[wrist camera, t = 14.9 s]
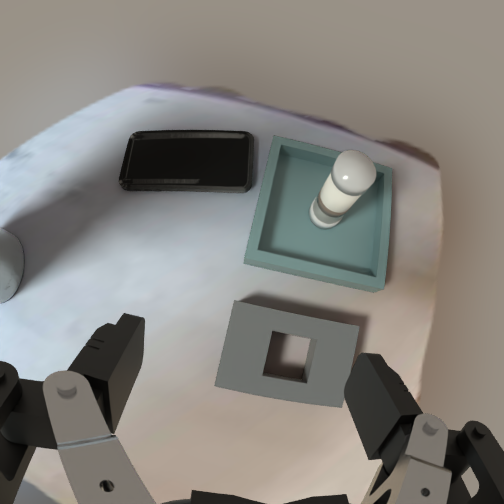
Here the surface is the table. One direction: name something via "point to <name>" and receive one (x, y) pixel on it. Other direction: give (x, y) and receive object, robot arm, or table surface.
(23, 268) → the robot arm
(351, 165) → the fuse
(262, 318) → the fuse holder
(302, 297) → the table surface
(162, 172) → the phone
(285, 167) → the parts tray
